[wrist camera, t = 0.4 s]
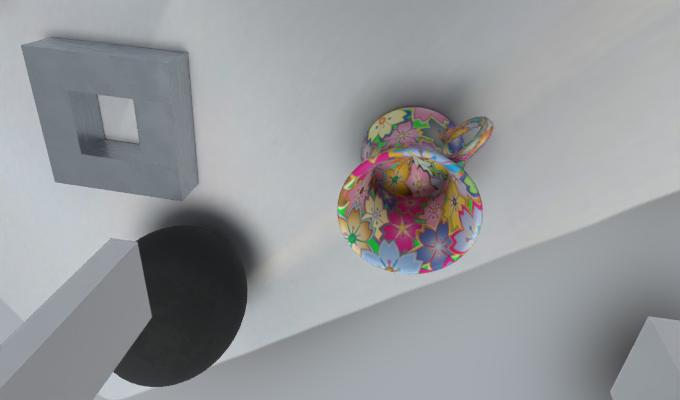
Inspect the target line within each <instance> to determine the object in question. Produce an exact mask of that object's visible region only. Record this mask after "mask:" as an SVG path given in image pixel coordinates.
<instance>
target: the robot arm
mask: <svg viewBox="0 0 680 400" xmlns="http://www.w3.org/2000/svg"><path fill="white" fill-rule="evenodd" d="M151 318H152V315H151V310H150V304H149V299H148V294H147V289H146V284H145V279H144V273H143V268H142V263H141V258H140V253H139V248H138V242H134V241H127V240H120V239H113V238H111V239H110V240H109V241H108V242H107V243H106V244H105V245H104V246H103V247H102V248H101V249H99V250H98V251H97V252H96V253H95V254H94V255H93V256H92V257H91V258H90V259H89V260H88V261H87V262H86V263H85V264H84V265H83V266H82V267H81V268H80V269H79V270H78V271H77V272H76V273H75V274H74V275H73V276H72V277H71V278H70V279H68V280H67V281H66V282H65V283H64V284H63V285H62V286H61V287H60V288H59V289H58V290H57V291H56V292H55V293H54V294H53V295H52V296H51V297H50V298H49V299H48V300H47V301H46V302H45V303H44V304H43V305H42V306H41V307H40V308H39V309H37V310H36V311H35V312H34V313H33V314H32V315H31V316H30V317H29V318H28V319H27V320H26V321H25V322H24V323H23V324H22V325H21V326H20V327H19V328H18V329H17V330H16V331H15V332H14V333H13V334H12V335H11V336H10V337H9V338H8V339H6V341H4V342H3V344H1V345H0V400H93V399H94V397H95V396H96V395H97V393H98V392H99V390H100V389H101V388H102V386H103V385H104V383H105V382H106V381H107V379H108V378H109V377H110V375H111V374H112V372H113V371H114V370H115V368H116V367H117V365H118V364H119V363H120V361H121V360H122V358H123V357H124V356H125V354H126V353H127V351H128V350H129V349H130V347H131V346H132V344H133V343H134V342H135V340H136V339H137V337H138V336H139V335H140V333H141V332H142V330H143V329H144V328H145V326H146V325H147V323H148V322H149V321H150V319H151ZM610 394H611V396H612V399H613V400H680V321H677V320H670V319H664V318H656V317H650V316H649V317H648V319H647V320H646V322H645V324H644V326H643V328H642V330H641V332H640V334H639V336H638V338H637V340H636V342H635V344H634V346H633V348H632V350H631V352H630V354H629V356H628V358H627V360H626V361H625V363H624V366H623V367H622V369H621V371H620V374H619V375H618V377H617V379H616V381H615V383H614V385H613V387H612V389H611V391H610Z"/></svg>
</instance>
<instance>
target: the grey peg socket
mask: <svg viewBox="0 0 680 400" xmlns="http://www.w3.org/2000/svg"><path fill="white" fill-rule="evenodd" d="M21 47H22V51H23V55H24V59H25V63H26V67H27V71H28V75H29V79H30V83H31V87H32V91H33V95H34V99H35V103H36V107H37V111H38V115H39V119H40V123H41V127H42V131H43V135H44V139H45V143H46V147H47V151H48V155H49V159H50V163H51V167H52V171H53V175H54V179H55V182H58V183H65V184H71V185H78V186H85V187H91V188H98V189H105V190H111V191H118V192H125V193H131V194H138V195H145V196H151V197H158V198H165V199H171V200H178V201H182V200H183V199H184V198H185V197H186V196H187V195H188V194H189V193H190V192H191V191H192V190H193V188H194V187H195V186H196V185H197V184H198V172H197V160H196V148H195V136H194V124H193V112H192V99H191V87H190V75H189V63H188V53H184V52H176V51H167V50H159V49H150V48H141V47H133V46H124V45H115V44H107V43H98V42H90V41H81V40H72V39H64V38H55V37H50V38H47V39H43V40H39V41H35V42H31V43H28V44H24V45H21ZM97 94H99V95H106V96H114V97H122V98H130V99H133V101H134V107H135V114H136V121H137V128H138V135H139V142H140V144H135V143H128V142H120V141H113V140H106V139H105V136H104V131H103V125H102V120H101V114H100V109H99V103H98V98H97Z"/></svg>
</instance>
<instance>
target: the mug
mask: <svg viewBox="0 0 680 400" xmlns="http://www.w3.org/2000/svg"><path fill="white" fill-rule="evenodd" d="M480 126H482V128H481V129H480V131H479V132H478V134H477V135H476V136H475V137H474V138H473V139H472V140H471V142H469V143H468V144H467V145H466V146H465V145H464V141H463V138H462V136H461V135H462V134H464V133H466V132H468V131H470V130H472V129H474V128H477V127H480ZM492 131H493V123H492V122H491V121H490V120H489V119H488V118H486V117H475V118H472V119H470V120H467V121H465V122H463V123H461V124H460V125H458V126H456V127H455V125H454V124H453V123H452V122H451V121H450V120H449V119H447V118H446V117H445V116H443V115H442V114H440V113H438V112H436V111H433V110H430V109H427V108H421V107H406V108H401V109H397V110H394V111H392V112H389V113H387V114H385V115H384V116H382V117H381V118H380V119H378V120H377V121H376V122H375V123H374V124H373V125H372V126H371V128H370V129H369V130H368V132H367V134H366V136H365V138H364V140H363V143H362V148H361V162H362V164H360V165H359V166H358V167H357V168H356V169H355V170H354V171H353V172H352V173H351V174H350V175H349V177H348V178H347V180H346V181H345V183H344V185H343V187H342V190H341V192H340V196H339V200H338V210H337V211H338V220H339V224H340V228H341V230H342V233H343V235H344V237H345V239H346V240H347V242H348V243H349V245H350V246H351V247H352V248H353V250H354V251H355V252H356V253H357V254H358V255H360V256H361V257H362V258H363V259H365V260H366V261H368V262H369V263H371V264H373V265H375V266H377V267H379V268H382V269H384V270H387V271H391V272H396V273H402V274H422V273H428V272H432V271H436V270H439V269H442V268H444V267H446V266H448V265H450V264H452V263H454V262H455V261H457V260H458V259H459V258H461V257H462V256H463V255H464V254H465V253H466V252H467V251H468V250H469V249H470V247H471V246H472V245H473V243H474V242H475V240H476V238H477V236H478V234H479V231H480V228H481V224H482V218H483V208H482V201H481V197H480V194H479V192H478V189H477V187H476V185H475V183H474V182H473V180H472V179H471V177H470V176H469V175H468V174H467V173H466V172H465V171H464V170H463V169H464V165H465V160H466V159H468V158H469V157H471V156H472V155H473V154H475V153H476V152H477V151H478V150H479V149H480V148H481V147H482V146H483V145H484V144H485V142H486V141H487V140H488V138H489V137H490V135H491V133H492Z"/></svg>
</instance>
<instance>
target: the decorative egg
mask: <svg viewBox="0 0 680 400" xmlns="http://www.w3.org/2000/svg"><path fill="white" fill-rule="evenodd" d="M135 242H138V248H139V253H140V258H141V263H142V268H143V273H144V279H145V284H146V289H147V294H148V299H149V304H150V310H151V315H152V318H151V319H150V321H149V322H148V323H147V325H146V326H145V328H144V329H143V330H142V332H141V333H140V335H139V336H138V337H137V339H136V340H135V342H134V343H133V344H132V346H131V347H130V349H129V350H128V351H127V353H126V354H125V356H124V357H123V358H122V360H121V361H120V363H119V364H118V365H117V367H116V368H115V370H114V371H113V372H114V373H115V374H117V375H118V376H119V377H121V378H123V379H125V380H127V381H129V382H131V383H134V384H137V385H142V386H148V387H163V386H170V385H174V384H178V383H181V382H184V381H187V380H189V379H191V378H193V377H195V376H197V375H198V374H200V373H202V372H203V371H205V370H206V369H207V368H209V367H210V366H211V365H212V364H214V363H215V362H216V361H217V360H218V359H219V358H220V357H221V356H222V354H223V353H224V352H225V351H226V350H227V348H228V347H229V346H230V344H231V343H232V341H233V340H234V338H235V336H236V334H237V332H238V330H239V328H240V326H241V323H242V320H243V317H244V314H245V309H246V303H247V281H246V276H245V272H244V268H243V266H242V263H241V261H240V259H239V257H238V256H237V254H236V252H235V251H234V250H233V248H232V247H231V246H230V245H229V244H228V243H227V242H226V241H225V240H223V239H222V238H221V237H219V236H218V235H216V234H214V233H212V232H210V231H208V230H205V229H202V228H198V227H192V226H175V227H168V228H164V229H160V230H157V231H154V232H152V233H150V234H148V235H146V236H144V237H142V238H140V239H138V240H137V241H135Z"/></svg>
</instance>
